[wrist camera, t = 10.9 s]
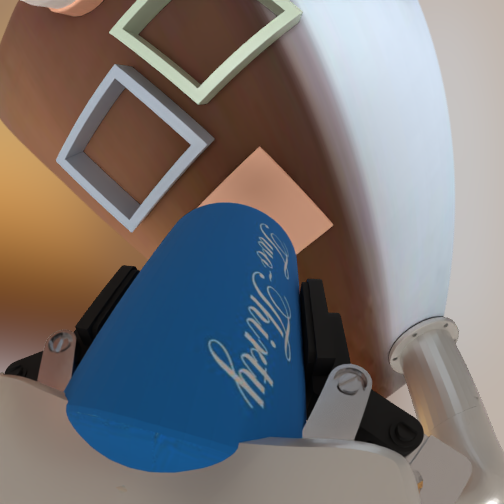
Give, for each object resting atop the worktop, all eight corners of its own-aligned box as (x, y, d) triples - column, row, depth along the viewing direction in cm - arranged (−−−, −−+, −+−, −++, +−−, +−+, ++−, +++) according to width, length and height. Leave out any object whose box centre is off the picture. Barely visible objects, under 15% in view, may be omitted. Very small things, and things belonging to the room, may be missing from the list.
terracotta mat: (332, 223, 29) (333, 225, 29) (257, 281, 34) (257, 283, 33) (259, 146, 26) (259, 146, 26) (186, 219, 30) (185, 220, 30)
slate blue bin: (215, 139, 26) (207, 144, 23) (144, 218, 31) (131, 232, 28) (131, 66, 22) (114, 64, 19) (73, 153, 27) (55, 160, 24)
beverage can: (323, 254, 14) (366, 524, 4) (242, 325, 17) (207, 532, 6) (218, 168, 12) (28, 436, 2) (149, 261, 15) (32, 462, 5)
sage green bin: (299, 22, 20) (302, 11, 16) (207, 103, 24) (197, 104, 21) (209, -42, 16) (201, -56, 13) (125, 37, 20) (109, 32, 17)
